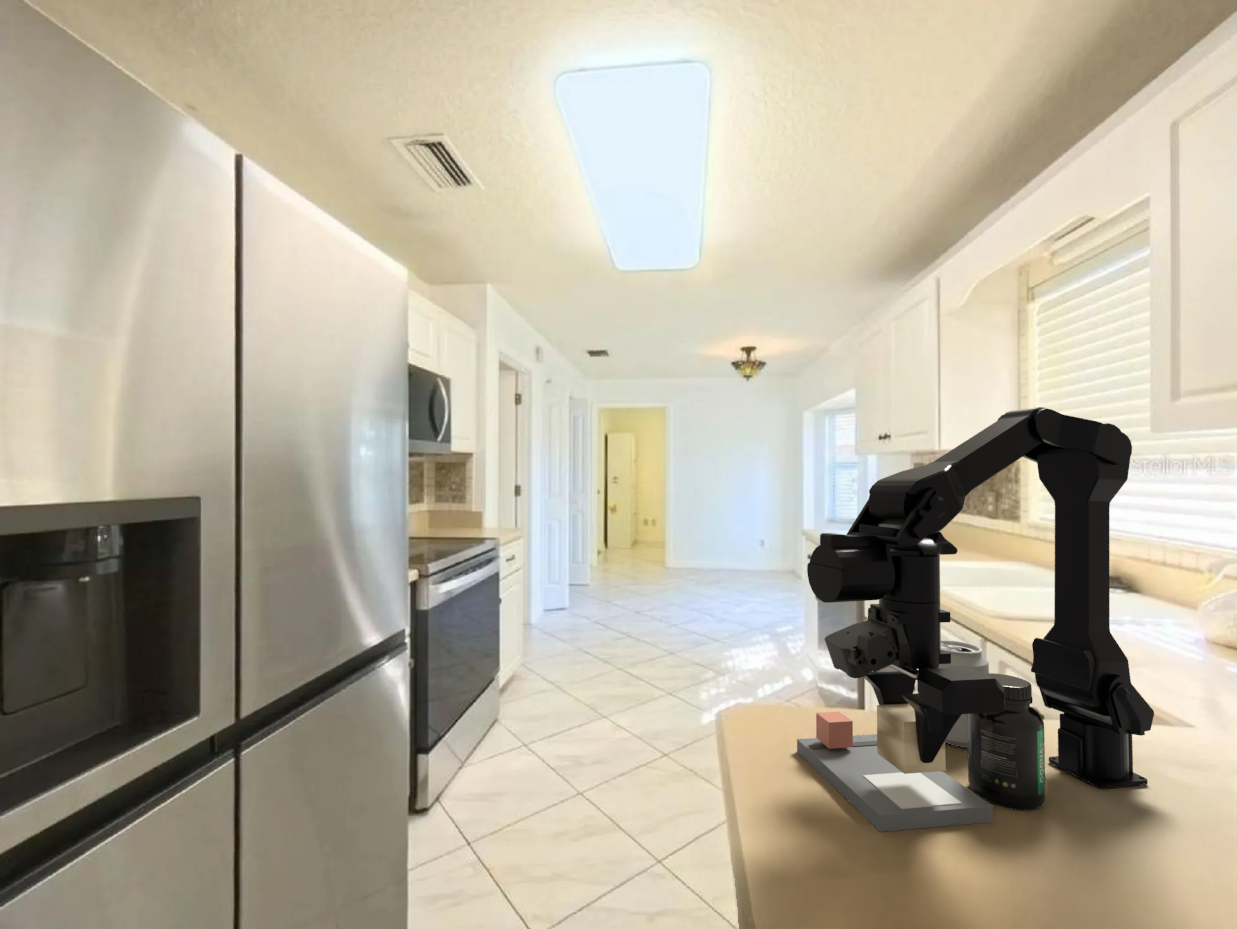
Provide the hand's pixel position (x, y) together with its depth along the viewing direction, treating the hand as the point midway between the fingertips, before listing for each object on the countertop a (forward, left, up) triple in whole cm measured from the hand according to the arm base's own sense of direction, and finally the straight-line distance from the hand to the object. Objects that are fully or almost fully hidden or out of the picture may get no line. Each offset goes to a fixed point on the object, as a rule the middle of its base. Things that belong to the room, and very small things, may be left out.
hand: (910, 751), depth 60 cm
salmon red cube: (+3, -10, -3) cm, 11 cm away
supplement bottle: (-11, 0, -6) cm, 13 cm away
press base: (0, -4, -5) cm, 7 cm away
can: (-16, -14, -6) cm, 22 cm away
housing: (0, 0, -1) cm, 1 cm away
